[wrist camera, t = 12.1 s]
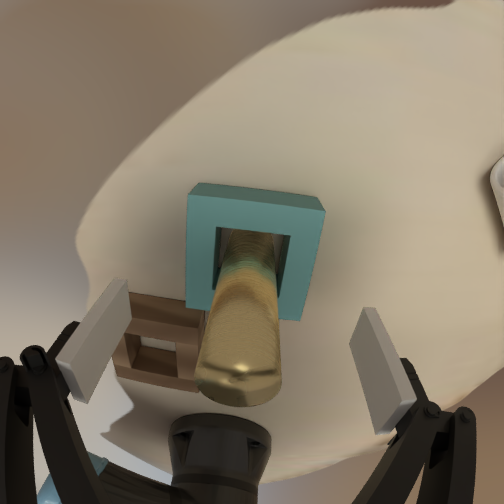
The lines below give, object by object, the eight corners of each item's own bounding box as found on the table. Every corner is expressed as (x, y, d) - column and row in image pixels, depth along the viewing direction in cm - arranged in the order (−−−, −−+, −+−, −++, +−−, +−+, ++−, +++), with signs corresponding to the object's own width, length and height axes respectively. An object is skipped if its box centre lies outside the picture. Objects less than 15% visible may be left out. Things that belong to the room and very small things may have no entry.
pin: (270, 265, 25) (273, 410, 12) (226, 260, 25) (195, 401, 12) (276, 225, 23) (289, 358, 11) (230, 219, 23) (193, 347, 11)
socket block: (296, 296, 26) (299, 320, 23) (194, 284, 26) (185, 307, 23) (316, 197, 22) (325, 211, 19) (198, 182, 22) (187, 194, 19)
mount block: (203, 368, 31) (198, 392, 27) (127, 354, 30) (117, 376, 27) (204, 304, 27) (198, 328, 24) (115, 289, 27) (100, 310, 23)
